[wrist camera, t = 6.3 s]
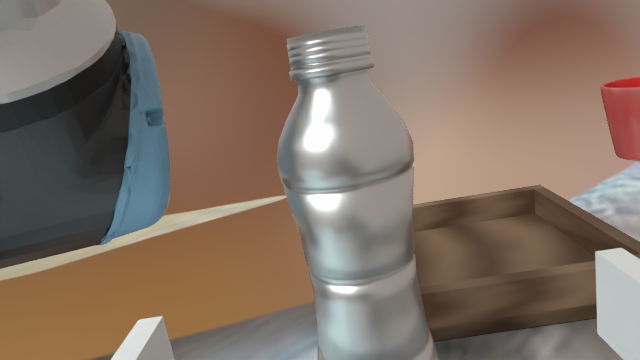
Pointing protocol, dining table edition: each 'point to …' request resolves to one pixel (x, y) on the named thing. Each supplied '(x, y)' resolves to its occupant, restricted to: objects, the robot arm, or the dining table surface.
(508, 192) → the walnut tray
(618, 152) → the flower pot
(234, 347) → the dining table surface
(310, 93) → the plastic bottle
